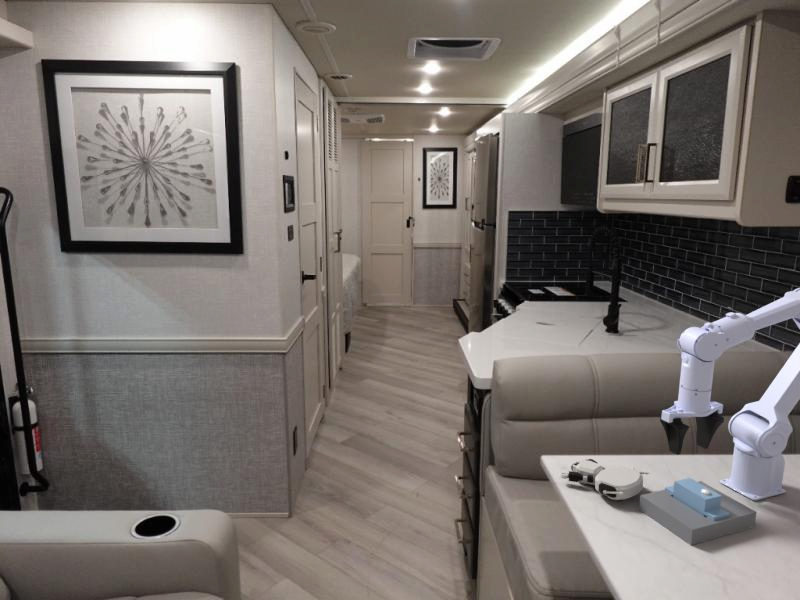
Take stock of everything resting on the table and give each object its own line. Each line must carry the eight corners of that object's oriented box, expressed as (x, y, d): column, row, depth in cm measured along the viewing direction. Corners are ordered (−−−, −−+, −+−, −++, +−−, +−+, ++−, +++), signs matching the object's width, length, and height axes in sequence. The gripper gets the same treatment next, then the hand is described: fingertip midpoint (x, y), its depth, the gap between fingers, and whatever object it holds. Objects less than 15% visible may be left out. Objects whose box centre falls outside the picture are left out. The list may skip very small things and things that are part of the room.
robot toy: (556, 488, 116) (625, 513, 105) (556, 468, 115) (625, 491, 104) (585, 469, 124) (652, 490, 113) (585, 450, 123) (652, 470, 112)
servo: (678, 498, 109) (681, 471, 108) (728, 528, 99) (731, 499, 98) (663, 501, 108) (666, 474, 107) (711, 532, 98) (715, 503, 97)
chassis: (699, 494, 112) (700, 481, 111) (754, 526, 100) (756, 511, 100) (639, 509, 106) (640, 495, 105) (690, 545, 95) (692, 529, 94)
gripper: (704, 377, 115) (697, 436, 117) (652, 384, 110) (646, 446, 112) (735, 387, 108) (727, 450, 111) (680, 396, 103) (674, 461, 106)
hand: (688, 449), depth 111 cm, fingers open, 7 cm apart
